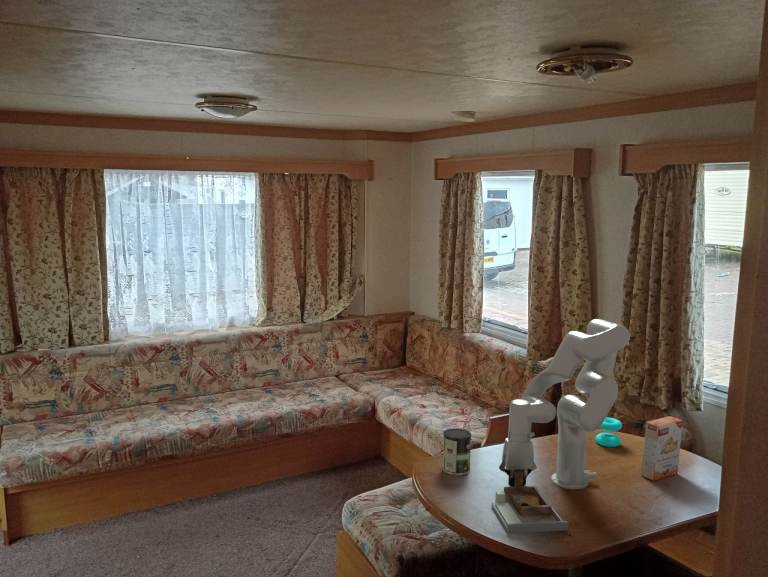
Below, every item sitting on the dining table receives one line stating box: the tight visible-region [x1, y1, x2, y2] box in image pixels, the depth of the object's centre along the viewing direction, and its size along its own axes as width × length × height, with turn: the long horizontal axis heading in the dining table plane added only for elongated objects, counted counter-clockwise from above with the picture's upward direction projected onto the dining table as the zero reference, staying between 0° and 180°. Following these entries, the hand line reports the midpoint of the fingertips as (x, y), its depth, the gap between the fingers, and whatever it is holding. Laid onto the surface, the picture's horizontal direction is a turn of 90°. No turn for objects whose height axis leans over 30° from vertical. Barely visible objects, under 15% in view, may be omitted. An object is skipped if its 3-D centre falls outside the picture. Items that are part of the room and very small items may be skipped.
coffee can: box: [442, 428, 472, 476], centre depth 236 cm, size 10×10×14 cm
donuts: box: [595, 416, 623, 448], centre depth 264 cm, size 10×10×10 cm
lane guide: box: [491, 502, 569, 534], centre depth 200 cm, size 19×17×3 cm
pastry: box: [517, 494, 541, 506], centre depth 209 cm, size 9×7×4 cm
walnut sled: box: [503, 469, 553, 516], centre depth 212 cm, size 11×19×7 cm, turn 7°
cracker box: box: [640, 415, 684, 482], centre depth 233 cm, size 14×6×21 cm, turn 121°
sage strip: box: [494, 490, 522, 524], centre depth 201 cm, size 4×18×4 cm, turn 7°
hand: (516, 486), depth 220 cm, fingers closed on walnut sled, 3 cm apart
